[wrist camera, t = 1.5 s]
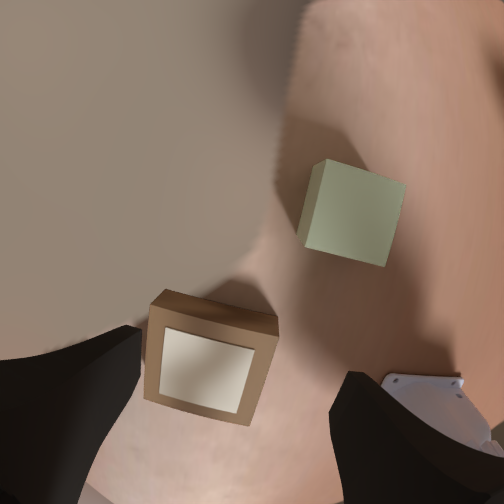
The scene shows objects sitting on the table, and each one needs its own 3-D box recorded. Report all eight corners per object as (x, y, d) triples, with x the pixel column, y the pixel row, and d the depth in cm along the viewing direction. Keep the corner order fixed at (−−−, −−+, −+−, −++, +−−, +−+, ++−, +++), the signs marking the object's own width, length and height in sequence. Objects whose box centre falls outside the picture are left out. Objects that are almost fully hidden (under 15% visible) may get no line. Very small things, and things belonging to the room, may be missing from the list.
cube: (376, 185, 18) (406, 184, 13) (360, 250, 19) (384, 267, 14) (312, 166, 18) (326, 158, 13) (296, 234, 19) (304, 247, 14)
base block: (277, 316, 20) (279, 337, 17) (251, 401, 22) (249, 427, 18) (165, 288, 20) (149, 305, 17) (155, 376, 22) (143, 399, 19)
